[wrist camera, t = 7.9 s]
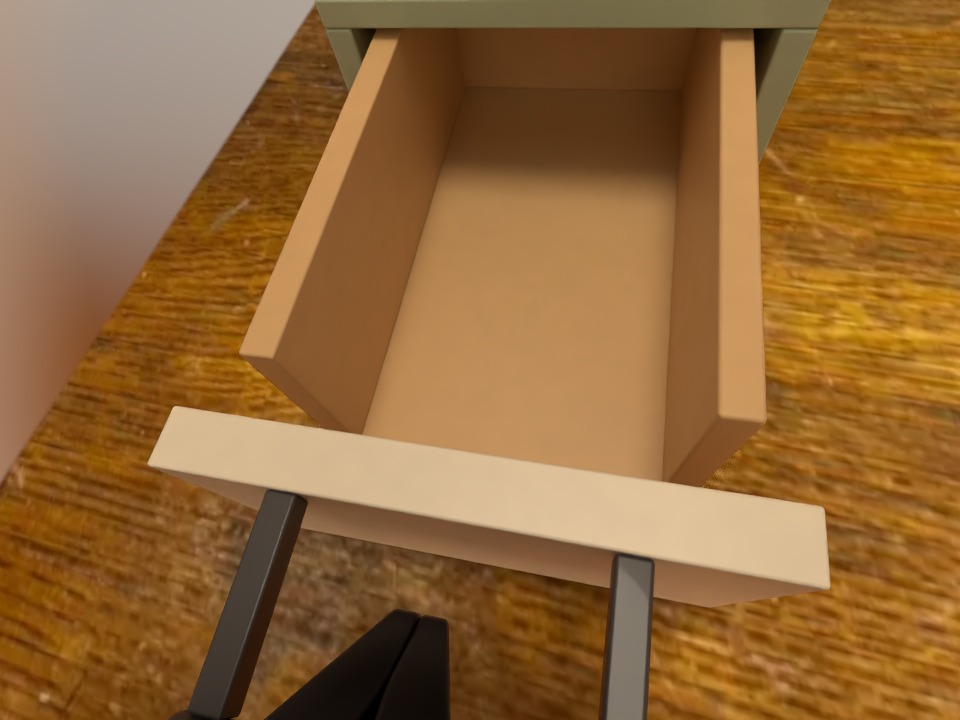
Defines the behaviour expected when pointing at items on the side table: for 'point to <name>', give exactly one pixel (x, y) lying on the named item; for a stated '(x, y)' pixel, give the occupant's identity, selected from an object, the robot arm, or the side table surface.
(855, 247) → the side table surface
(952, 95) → the side table surface
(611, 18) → the cabinet
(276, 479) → the drawer
